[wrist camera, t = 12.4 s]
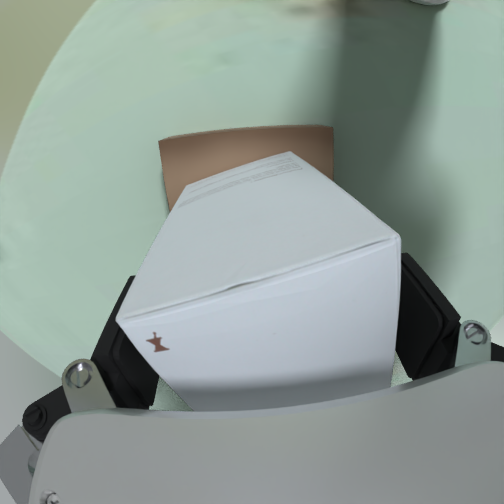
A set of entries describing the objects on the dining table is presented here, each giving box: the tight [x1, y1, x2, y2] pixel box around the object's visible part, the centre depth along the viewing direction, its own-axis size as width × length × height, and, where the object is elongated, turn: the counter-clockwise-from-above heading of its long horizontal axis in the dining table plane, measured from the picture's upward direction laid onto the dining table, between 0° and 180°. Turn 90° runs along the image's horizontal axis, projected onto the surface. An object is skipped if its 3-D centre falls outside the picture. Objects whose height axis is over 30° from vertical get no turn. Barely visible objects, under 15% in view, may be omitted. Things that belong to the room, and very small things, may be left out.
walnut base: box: [158, 125, 334, 212], centre depth 20 cm, size 12×11×3 cm
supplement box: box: [116, 151, 401, 412], centre depth 13 cm, size 7×7×13 cm
